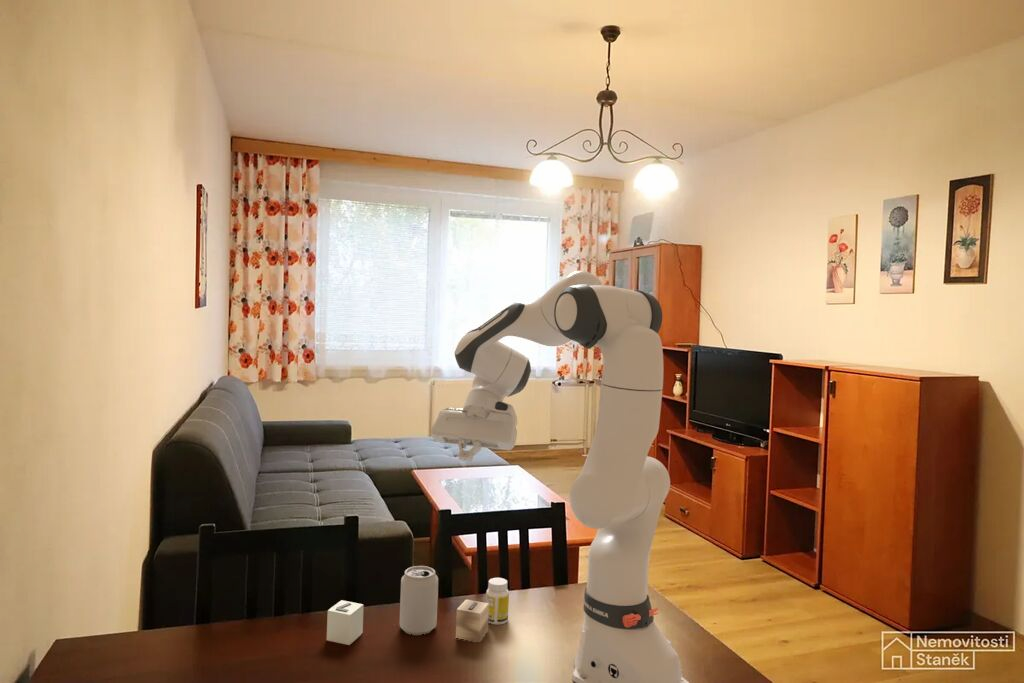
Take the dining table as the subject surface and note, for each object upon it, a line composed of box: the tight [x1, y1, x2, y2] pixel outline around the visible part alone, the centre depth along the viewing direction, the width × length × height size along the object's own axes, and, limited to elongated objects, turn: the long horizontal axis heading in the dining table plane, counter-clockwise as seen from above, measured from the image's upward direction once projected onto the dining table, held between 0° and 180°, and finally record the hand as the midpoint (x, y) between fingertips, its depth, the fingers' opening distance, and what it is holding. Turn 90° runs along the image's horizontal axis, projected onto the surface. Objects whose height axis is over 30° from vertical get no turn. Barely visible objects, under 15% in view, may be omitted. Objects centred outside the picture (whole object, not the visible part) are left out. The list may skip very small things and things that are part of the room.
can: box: [399, 565, 439, 636], centre depth 138 cm, size 8×8×12 cm
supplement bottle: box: [485, 577, 510, 626], centre depth 143 cm, size 5×5×8 cm
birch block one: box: [455, 598, 489, 643], centre depth 136 cm, size 5×5×6 cm
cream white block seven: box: [326, 599, 365, 646], centre depth 133 cm, size 5×5×6 cm
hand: (464, 459), depth 154 cm, fingers closed
